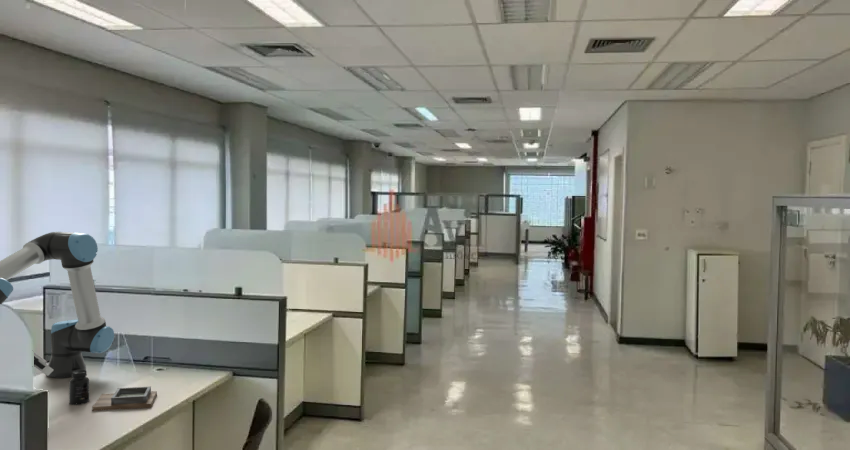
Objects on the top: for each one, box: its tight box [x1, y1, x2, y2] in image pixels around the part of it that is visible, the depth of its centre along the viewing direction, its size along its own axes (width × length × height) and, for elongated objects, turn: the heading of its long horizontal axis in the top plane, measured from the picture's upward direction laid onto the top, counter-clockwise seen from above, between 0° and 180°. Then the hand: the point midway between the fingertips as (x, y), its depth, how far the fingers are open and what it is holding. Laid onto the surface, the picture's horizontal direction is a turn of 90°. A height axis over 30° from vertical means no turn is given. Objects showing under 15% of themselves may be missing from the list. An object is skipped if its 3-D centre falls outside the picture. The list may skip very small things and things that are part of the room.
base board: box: [91, 386, 158, 412], centre depth 239 cm, size 15×20×4 cm
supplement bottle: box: [68, 369, 90, 406], centre depth 237 cm, size 7×7×12 cm
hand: (47, 368), depth 230 cm, fingers open, 13 cm apart
